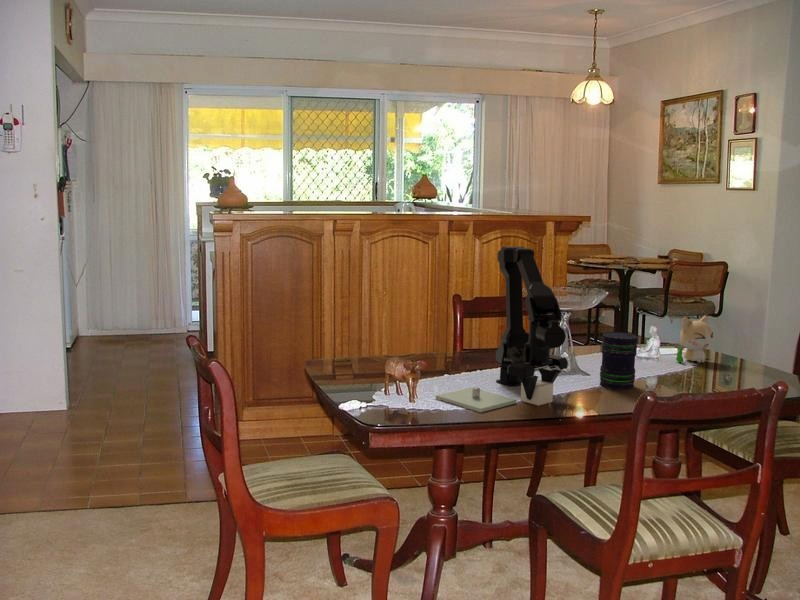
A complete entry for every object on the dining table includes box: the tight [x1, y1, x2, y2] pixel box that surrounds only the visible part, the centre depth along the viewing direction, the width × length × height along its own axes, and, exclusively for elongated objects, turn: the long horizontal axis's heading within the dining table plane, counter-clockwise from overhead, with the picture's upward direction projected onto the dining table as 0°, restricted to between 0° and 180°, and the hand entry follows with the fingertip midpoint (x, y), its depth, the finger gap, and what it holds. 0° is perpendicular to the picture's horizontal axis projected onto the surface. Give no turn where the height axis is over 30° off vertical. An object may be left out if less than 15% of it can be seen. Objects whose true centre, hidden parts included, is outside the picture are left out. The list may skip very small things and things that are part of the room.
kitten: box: [675, 314, 714, 364], centre depth 278 cm, size 15×10×15 cm
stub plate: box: [435, 386, 517, 413], centre depth 223 cm, size 14×16×4 cm
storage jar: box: [599, 331, 638, 391], centre depth 242 cm, size 10×10×15 cm
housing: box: [520, 379, 554, 406], centre depth 224 cm, size 6×6×5 cm
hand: (536, 397), depth 224 cm, fingers closed on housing, 6 cm apart
